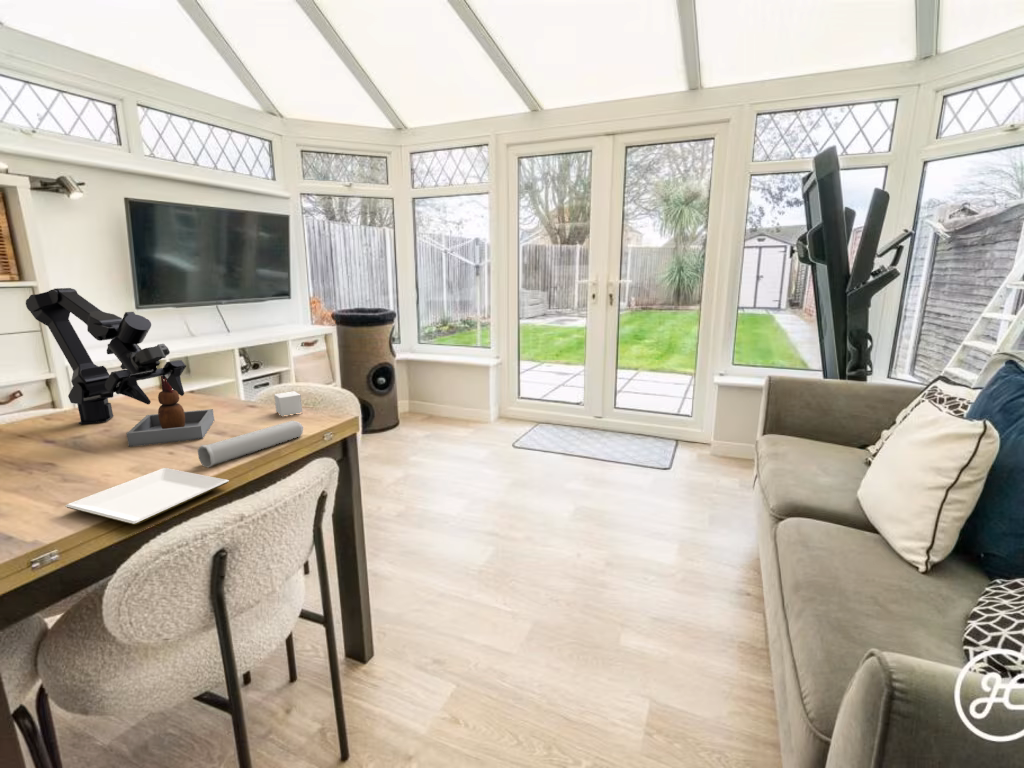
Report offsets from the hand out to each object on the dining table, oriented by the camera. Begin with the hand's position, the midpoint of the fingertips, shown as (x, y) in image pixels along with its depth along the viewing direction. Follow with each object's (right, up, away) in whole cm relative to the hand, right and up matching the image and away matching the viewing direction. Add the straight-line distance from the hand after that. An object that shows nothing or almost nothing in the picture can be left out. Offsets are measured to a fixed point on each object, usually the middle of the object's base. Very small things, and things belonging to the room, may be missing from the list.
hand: (166, 399), depth 133 cm
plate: (+23, -19, -37) cm, 47 cm away
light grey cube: (+24, -5, +20) cm, 31 cm away
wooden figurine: (+1, -9, +2) cm, 9 cm away
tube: (+29, -13, -10) cm, 34 cm away
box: (+1, -9, +2) cm, 9 cm away
